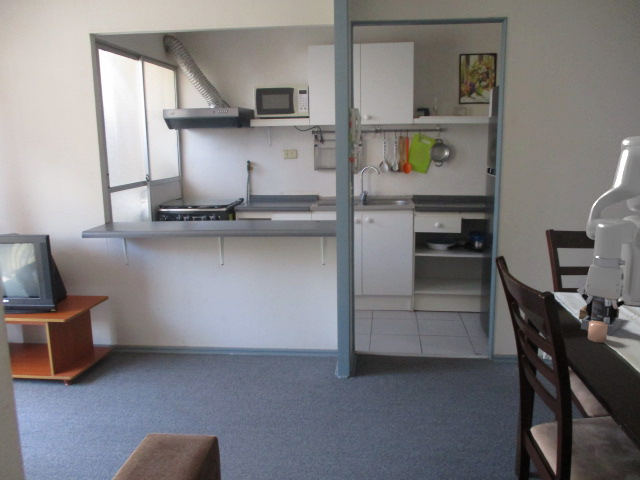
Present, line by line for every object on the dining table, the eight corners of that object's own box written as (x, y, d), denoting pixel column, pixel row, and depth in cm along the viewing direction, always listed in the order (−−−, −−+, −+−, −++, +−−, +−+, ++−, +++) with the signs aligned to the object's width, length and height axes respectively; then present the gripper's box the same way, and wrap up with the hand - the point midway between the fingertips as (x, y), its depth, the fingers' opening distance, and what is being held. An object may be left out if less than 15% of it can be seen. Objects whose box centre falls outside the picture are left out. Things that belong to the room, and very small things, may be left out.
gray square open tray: (589, 321, 178) (590, 312, 178) (618, 327, 173) (620, 317, 172) (580, 328, 172) (581, 318, 171) (611, 335, 166) (612, 325, 165)
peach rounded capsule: (590, 335, 167) (592, 319, 166) (608, 339, 163) (609, 323, 162) (585, 339, 163) (586, 323, 162) (603, 343, 160) (605, 327, 159)
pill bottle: (613, 328, 169) (617, 293, 166) (593, 327, 170) (596, 292, 168) (607, 321, 174) (611, 287, 172) (587, 320, 176) (590, 287, 173)
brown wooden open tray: (587, 312, 188) (588, 303, 187) (618, 318, 181) (619, 309, 181) (579, 319, 181) (579, 310, 180) (610, 325, 174) (611, 316, 174)
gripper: (640, 264, 165) (634, 320, 169) (580, 255, 176) (576, 308, 180) (634, 268, 160) (628, 326, 163) (573, 260, 171) (568, 314, 175)
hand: (601, 316), depth 172 cm, fingers closed on pill bottle, 6 cm apart
